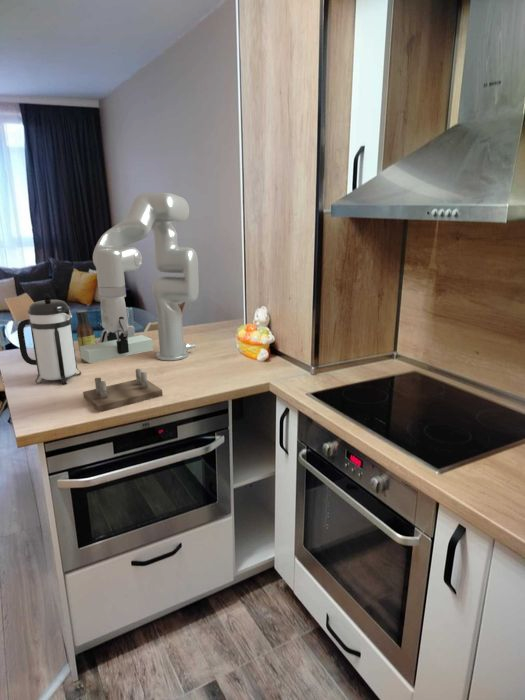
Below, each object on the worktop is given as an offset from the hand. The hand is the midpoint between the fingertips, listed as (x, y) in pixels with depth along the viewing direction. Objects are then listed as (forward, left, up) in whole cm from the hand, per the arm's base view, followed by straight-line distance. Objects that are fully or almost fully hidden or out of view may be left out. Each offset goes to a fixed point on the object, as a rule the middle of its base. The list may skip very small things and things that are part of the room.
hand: (118, 349), depth 141 cm
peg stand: (0, 0, -15) cm, 15 cm away
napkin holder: (-21, -60, -16) cm, 66 cm away
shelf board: (0, 0, -1) cm, 1 cm away
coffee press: (+12, -31, -16) cm, 37 cm away
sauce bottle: (-4, -44, -16) cm, 46 cm away
